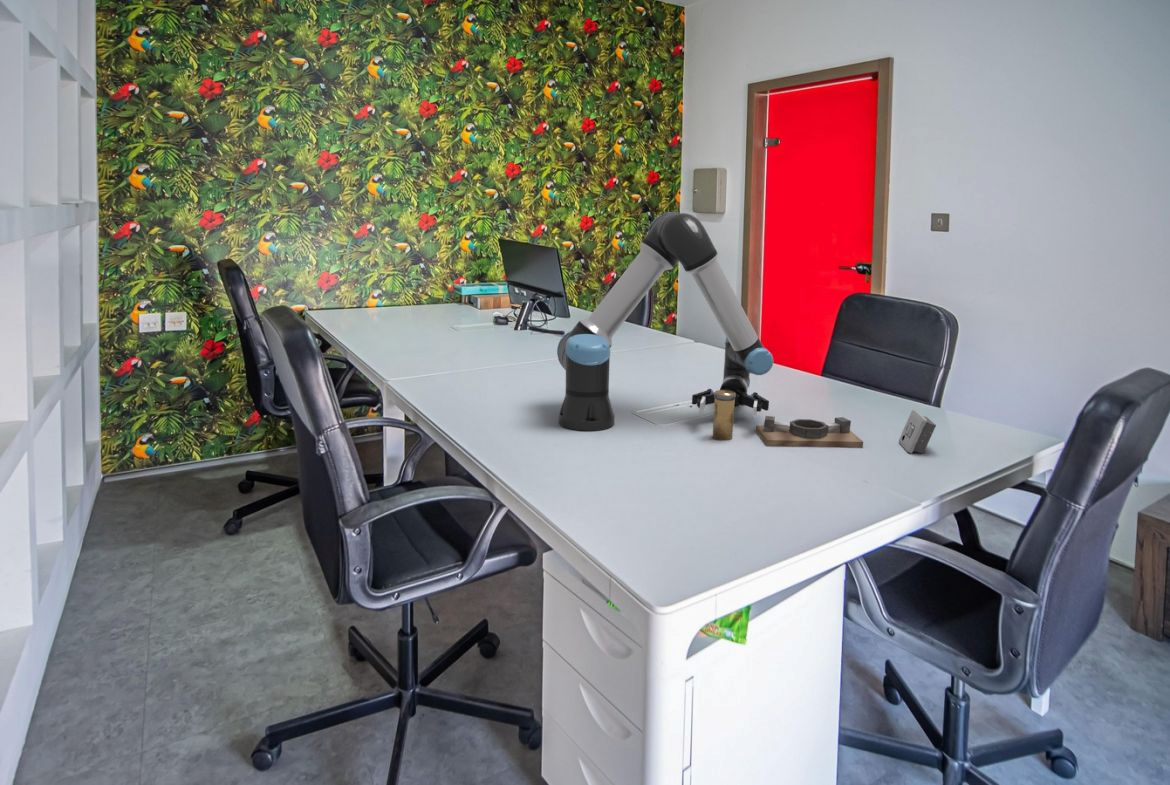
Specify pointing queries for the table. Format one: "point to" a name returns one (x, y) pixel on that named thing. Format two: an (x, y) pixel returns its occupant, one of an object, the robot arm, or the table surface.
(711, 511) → the table surface
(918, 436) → the electrical switch
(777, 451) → the table surface
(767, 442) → the base
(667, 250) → the robot arm
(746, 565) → the table surface
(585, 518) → the table surface
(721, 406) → the brass cylinder
